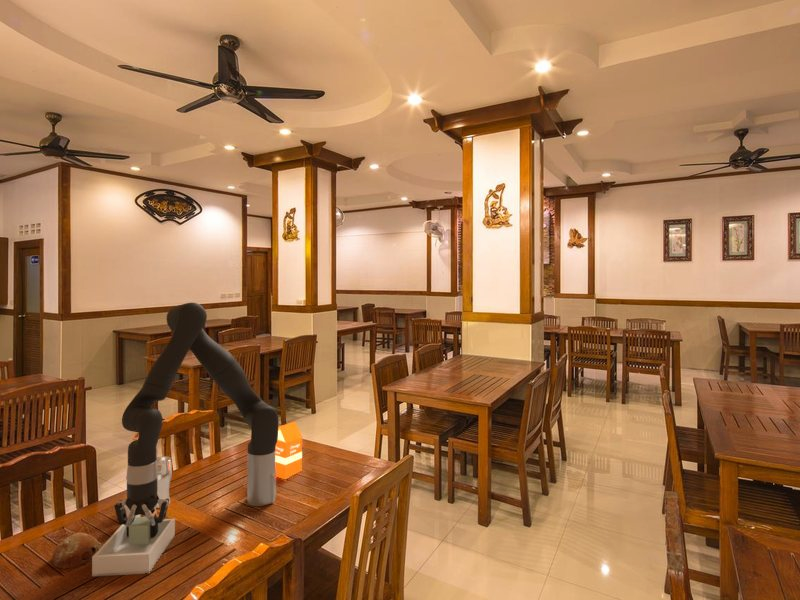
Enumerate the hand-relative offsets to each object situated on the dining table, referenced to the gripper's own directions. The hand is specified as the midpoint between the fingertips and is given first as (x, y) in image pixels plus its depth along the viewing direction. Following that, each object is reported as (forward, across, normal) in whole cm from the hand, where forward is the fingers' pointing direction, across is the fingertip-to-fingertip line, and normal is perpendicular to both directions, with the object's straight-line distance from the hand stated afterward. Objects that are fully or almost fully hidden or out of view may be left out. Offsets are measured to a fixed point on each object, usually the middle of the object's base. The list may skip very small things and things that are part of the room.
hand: (142, 536), depth 127 cm
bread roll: (+3, +15, +3) cm, 16 cm away
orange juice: (+3, -34, -46) cm, 58 cm away
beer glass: (+3, +5, -26) cm, 26 cm away
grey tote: (+3, 0, +4) cm, 5 cm away
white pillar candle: (+3, +8, -12) cm, 14 cm away
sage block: (+1, 0, 0) cm, 1 cm away
